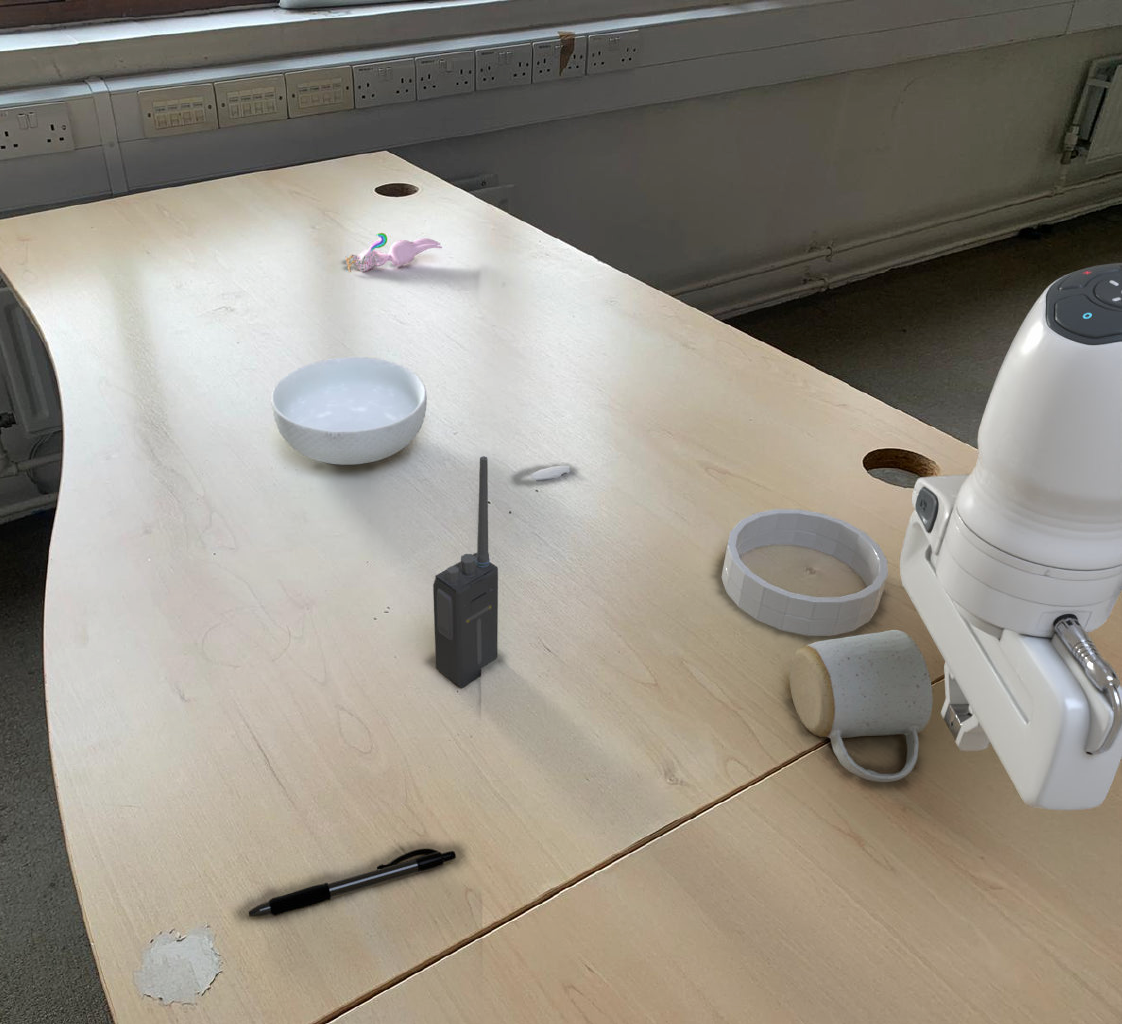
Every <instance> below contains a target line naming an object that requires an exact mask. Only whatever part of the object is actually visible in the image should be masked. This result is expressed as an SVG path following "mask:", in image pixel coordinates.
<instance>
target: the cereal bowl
mask: <svg viewBox="0 0 1122 1024" xmlns="http://www.w3.org/2000/svg"><path fill="white" fill-rule="evenodd" d="M427 397H428V395H427V388H426V385H425V383H424V381H423V380H422V378H421V377H420V376H419V375H418V374H417V373H415V372H414V371H412V369H410V368H409V367H406V366H404V365H402V364H399V363H397V362H394V361H390V360H387V359H382V358H377V357H367V356H344V357H333V358H328V359H323V360H318V361H315V362H311V363H308V364H306V365H303V366H301V367H298V368H296V369H294V370H292V371H291V372H289V373H288V374H286V375H285V376H283V377H282V378H281V379H280V380H279V381H278V382H277V383H276V385H275V386H274V388H273V389H272V392H271V396H270V404H271V410H272V416H273V418H274V422H275V426H276V428H277V429H278V433H279V435H280V436H281V437H282V438H283V439H284V441H285V442H286V443H287V444H288V446H290V447H291V448H292V449H293V450H295V451H297V452H298V453H300V454H301V455H303V456H305V457H307V458H309V459H312V460H314V461H317V462H321V463H325V464H331V465H340V466H342V465H343V466H346V465H347V466H349V465H350V466H351V465H363V464H368V463H373V462H377V461H380V460H383V459H386V458H388V457H390V456H393V455H395V454H397V453H398V452H400V451H401V450H403V449H404V448H405V447H407V446H408V445H409V444H410V443H411V442H412V441H413V440H414V439H415V438H416V437H417V435H418V433H419V432H420V430H421V428H422V425H423V423H424V420H425V417H426V412H427V405H428V404H427V402H428V401H427V400H428V398H427Z"/></svg>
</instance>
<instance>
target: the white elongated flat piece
mask: <svg viewBox="0 0 1122 1024" xmlns="http://www.w3.org/2000/svg"><path fill="white" fill-rule="evenodd" d="M570 472H571V466H570V465H567V464H563V465H555V466H548V467H544V468H542V469H539V470H537V471H534V472H533V473H531V475H530V476H529V477H530V479H532V480H535V482H548V481H552V480H555V479H557V478H560V477H562V475H564V474H569V473H570Z"/></svg>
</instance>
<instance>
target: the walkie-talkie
mask: <svg viewBox="0 0 1122 1024" xmlns="http://www.w3.org/2000/svg"><path fill="white" fill-rule="evenodd" d="M488 472H489V471H488V457H487V456H480V457H479V473H478V474H479V476H478V510H477V543H476V544H477V545H476V546H477V547H476V550H477V551H476V552H474V553H464V554H463V555H461V556H460V560H459V562H456V564H455V563H454V564H453V565H450V566H449V567H447V569H444V570H442V571H441V572H439V573H437V574H435V578H434V580H433V583H432V590H433V591H432V595H433V598H432V599H433V622H434V623H433V624H434V627H433V628H434V655H435V657H434V658H435V669H436V670H437V671H439V672H440V673H441V674H442V675H443V676H445V678H447V679H449V680H450V681H451V682H452V683H454V684H455V685H456V686H457V687H459V688H460V689H463V688H465V687H466V686H468V685H469V684H471V683H472V682H475V680H478V678H481V676H482V669H483V668H485V667H487V665H489V664H492V662H494V661H496V660H497V659H498V640H499V639H498V637H499V636H498V630H499V629H498V626H499V624H498V622H499V619H498V617H499V614H498V613H499V609H498V608H499V568H498V566H497V565H495V564H494V563H493V562H491V559H490V553H489V483H488V482H489V478H488V477H489V476H488V475H489V473H488Z"/></svg>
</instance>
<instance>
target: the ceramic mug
mask: <svg viewBox="0 0 1122 1024" xmlns="http://www.w3.org/2000/svg"><path fill="white" fill-rule="evenodd" d="M789 687H790V694H791V699H792V703H793V706H794V708H795V710H796V713H797V715H798V717H799V719H800V721H801V723H802V724H803V726H804V727H805V728H806V729H807V730H808V731H809V732H810V733H811V734H813V735H815V736H817V737H819V738H828V739H830V743H831V747H832V751H833V753H834V755H835V757H836V758H837V760H838V762H839V763H840V765H841V766H842V767H844V768H845V769H846V770H847V771H848V772H849V773H851V774H852V775H855V776H857V777H859V778H861V779H864V780H867V781H871V782H878V783H892V782H896V781H897V782H898V781H899V780H902V779H903V778H905V777H907V776H908V775H909V774H910V773H911V772H912V770H913V769H914V768H915V765H916V763H917V760H918V758H919V736H918V733H921V731H923V730H925V728H926V727H927V725H928V724H929V721H930V720H931V716H932V713H933V712H932V711H933V699H934V698H933V685H932V679H931V675H930V672H929V669H928V665H927V662H926V659H925V657H924V654H923V653H922V650H921V649H920V648H919V645H918V644H917V642H916V641H915V640H914V639H913V638H912V637H911V636H910V635H909V634H907V633H906V632H905V631H903V630H899V629H890V630H884V631H879V632H873V633H872V632H871V633H864V634H858V635H851V636H844V637H839V638H832V639H831V638H830V639H824V640H820V641H815V642H812V643H809V644H806V645H804V646H801V647H800V648H798V649H797V650H796V651H795V653H794V655H793V656H792V659H791V662H790V666H789ZM895 735H904V736H905V740H906V751H907V752H906V760H905V764H904V767H903V768H902V769H901V770H900V771H898V772H896V773H879V772H876V771H874V770H871V769H865V768H864V767H863V766H861V765H859V764H857V763H856V762H855V761H854V759H853V758H852V757H851V756H850V754H849V752H848V750H847V748H846V747H845V744H844V741H843V739H846V738H857V737H874V736H875V737H876V736H879V737H880V736H881V737H882V736H895Z"/></svg>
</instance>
